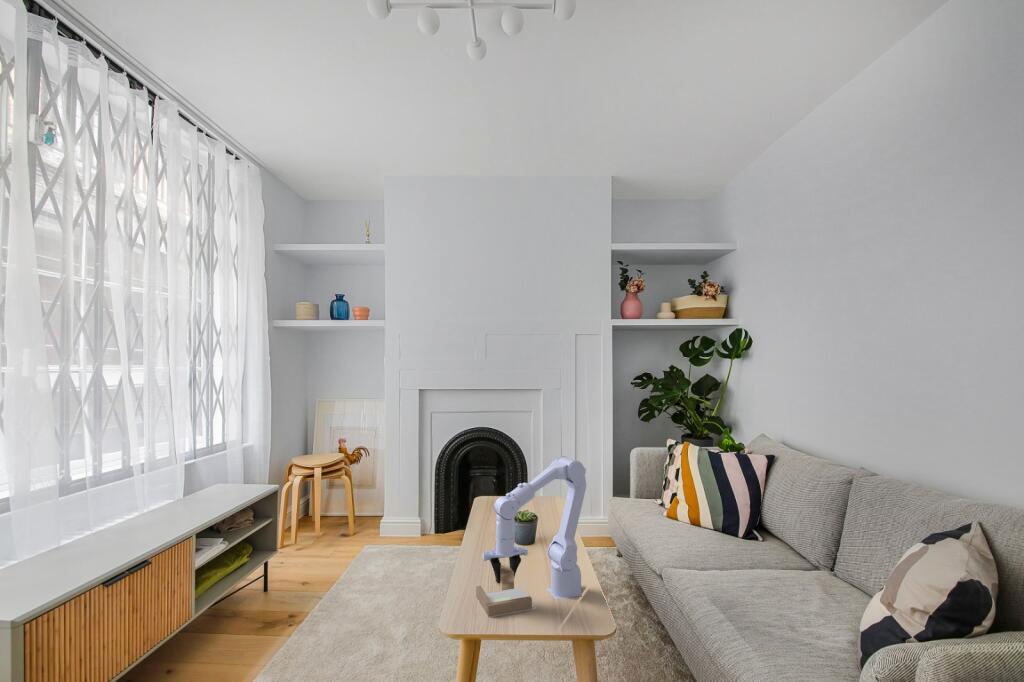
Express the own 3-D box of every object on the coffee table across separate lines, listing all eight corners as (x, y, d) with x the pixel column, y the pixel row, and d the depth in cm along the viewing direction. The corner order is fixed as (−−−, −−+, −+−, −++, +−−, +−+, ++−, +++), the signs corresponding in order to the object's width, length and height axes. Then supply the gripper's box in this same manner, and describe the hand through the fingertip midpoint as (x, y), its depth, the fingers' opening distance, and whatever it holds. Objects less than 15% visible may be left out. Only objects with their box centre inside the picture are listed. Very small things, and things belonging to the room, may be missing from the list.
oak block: (507, 580, 157) (507, 564, 158) (514, 588, 152) (514, 572, 152) (495, 582, 156) (495, 566, 156) (501, 590, 150) (501, 574, 151)
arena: (520, 589, 165) (520, 578, 165) (537, 609, 151) (537, 598, 151) (475, 596, 159) (475, 585, 159) (488, 618, 146) (488, 606, 146)
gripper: (522, 529, 161) (521, 572, 160) (479, 535, 156) (478, 578, 155) (530, 537, 154) (530, 581, 154) (485, 543, 149) (485, 588, 149)
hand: (504, 580), depth 154 cm, fingers closed on oak block, 4 cm apart
